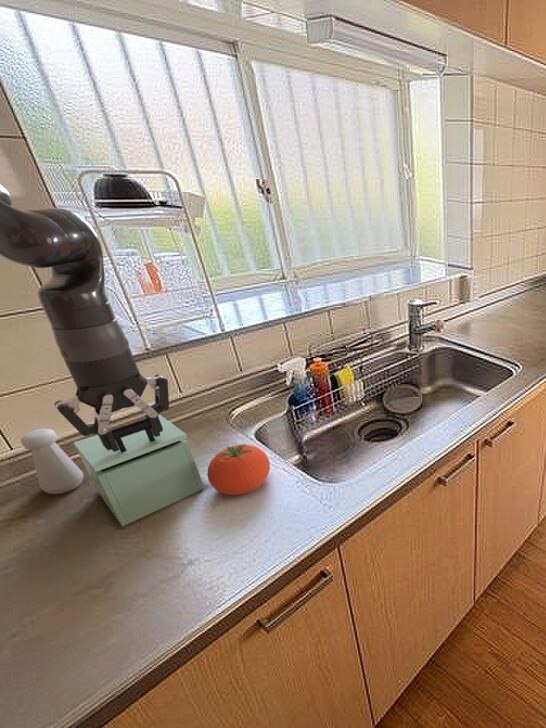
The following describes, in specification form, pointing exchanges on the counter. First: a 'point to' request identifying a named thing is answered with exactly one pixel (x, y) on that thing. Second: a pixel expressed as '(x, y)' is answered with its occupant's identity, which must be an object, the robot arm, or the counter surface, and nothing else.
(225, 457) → the tomato
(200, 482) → the mint green box
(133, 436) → the green box lid
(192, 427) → the counter surface
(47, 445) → the salt shaker
